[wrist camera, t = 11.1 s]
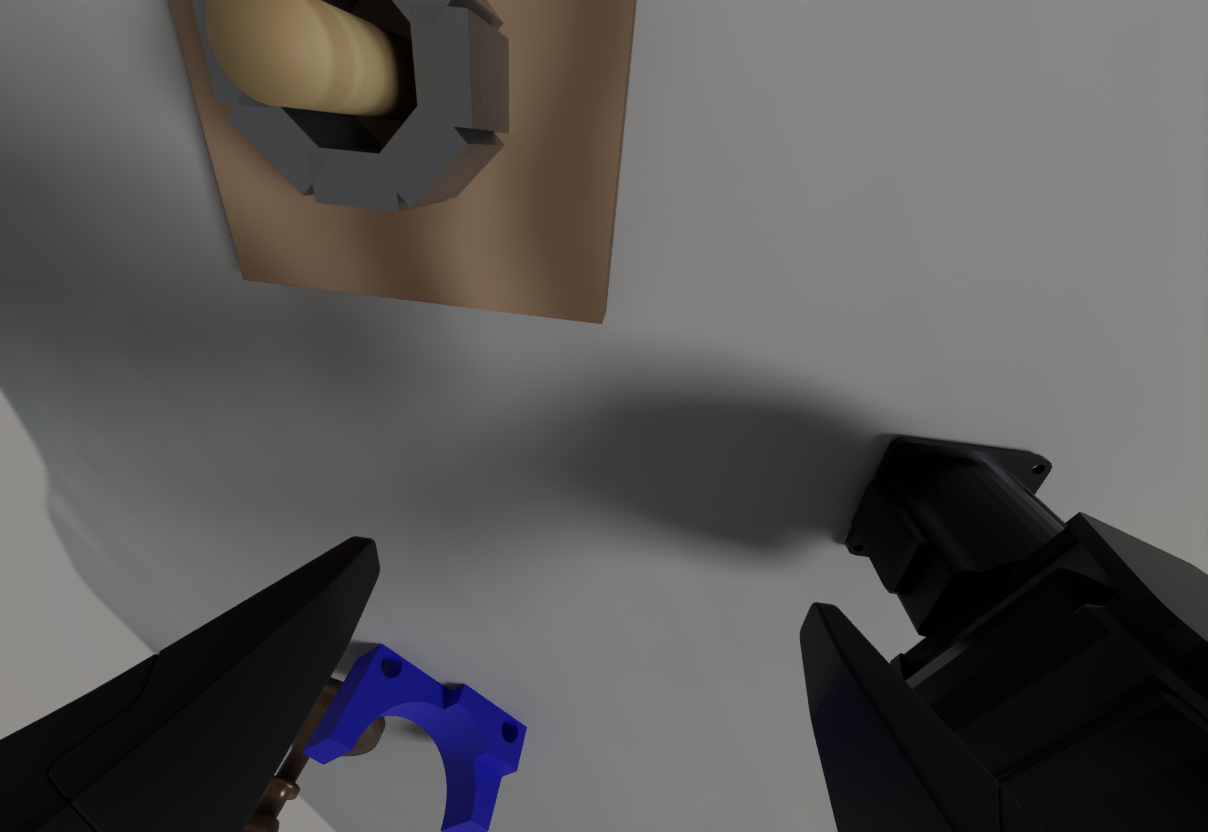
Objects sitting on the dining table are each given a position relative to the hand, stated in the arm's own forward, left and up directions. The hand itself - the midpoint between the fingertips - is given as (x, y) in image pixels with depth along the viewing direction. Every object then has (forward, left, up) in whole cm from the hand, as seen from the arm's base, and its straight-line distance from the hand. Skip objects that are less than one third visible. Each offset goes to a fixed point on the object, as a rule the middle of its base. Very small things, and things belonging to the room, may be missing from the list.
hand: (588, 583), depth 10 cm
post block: (+8, -9, -12) cm, 17 cm away
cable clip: (+10, +27, -12) cm, 31 cm away
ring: (+8, -9, -10) cm, 16 cm away
